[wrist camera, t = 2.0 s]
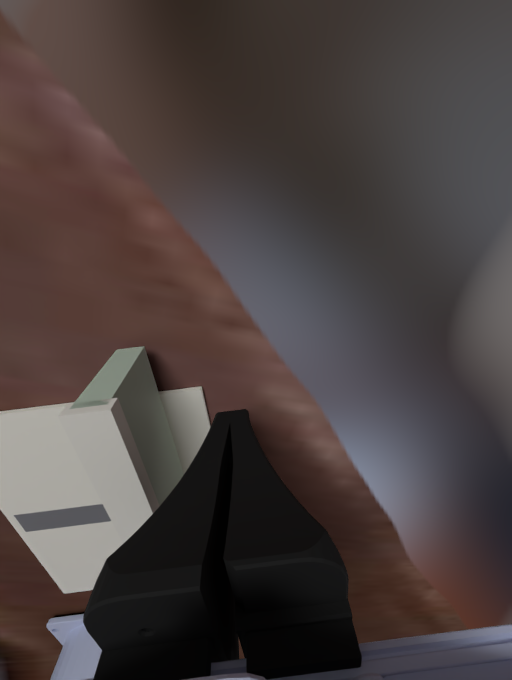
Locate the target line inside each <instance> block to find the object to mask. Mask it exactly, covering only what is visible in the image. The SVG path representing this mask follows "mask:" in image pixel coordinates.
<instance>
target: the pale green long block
mask: <svg viewBox="0 0 512 680" xmlns="http://www.w3.org/2000/svg"><path fill="white" fill-rule="evenodd" d="M58 418H59V420H60V422H61V424H62V426H63V428H64V430H65V432H66V434H67V436H68V438H69V440H70V442H71V444H72V445H73V447H74V449H75V451H76V453H77V455H78V457H79V459H80V461H81V463H82V465H83V467H84V469H85V471H86V473H87V475H88V477H89V479H90V480H91V482H92V484H93V486H94V488H95V490H96V492H97V494H98V496H99V498H100V500H101V502H102V504H103V506H104V508H105V510H106V512H107V513H108V515H109V517H110V519H111V521H112V523H113V525H114V527H115V529H116V531H117V533H118V535H119V537H120V539H121V541H122V543H125V542H126V541H127V540H128V539H129V538H130V537H131V536H132V535H133V534H134V533H135V532H136V531H137V530H138V529H139V528H140V527H141V526H142V525H143V524H144V523H145V522H146V521H147V519H148V518H149V517H150V516H151V515H152V514H153V513H154V512H155V511H156V510H157V509H158V507H159V506H160V505H161V504H162V503H163V502H164V500H165V499H166V498H167V497H168V495H169V494H170V493H171V491H172V490H173V489H174V488H175V486H176V485H177V484H178V482H179V481H180V479H181V478H182V477H183V475H184V473H183V470H182V466H181V463H180V460H179V457H178V454H177V450H176V447H175V444H174V441H173V437H172V434H171V431H170V428H169V424H168V421H167V418H166V415H165V412H164V408H163V405H162V402H161V399H160V395H159V392H158V389H157V386H156V382H155V379H154V376H153V373H152V369H151V366H150V363H149V360H148V357H147V353H146V350H145V347H144V346H142V347H134V348H126V349H118V350H116V351H115V352H114V354H113V355H112V356H111V357H110V359H109V360H108V361H107V362H106V364H105V365H104V366H103V367H102V369H101V370H100V371H99V373H98V374H97V375H96V376H95V378H94V379H93V380H92V381H91V383H90V384H89V385H88V386H87V388H86V389H85V390H84V391H83V393H82V394H81V395H80V396H79V398H78V399H77V400H76V401H75V403H71V404H67V406H66V407H65V408H64V409H63V410H62V412H61V413H60V414H59V415H58Z"/></svg>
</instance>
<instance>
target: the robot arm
mask: <svg viewBox="0 0 512 680" xmlns="http://www.w3.org/2000/svg"><path fill="white" fill-rule="evenodd" d="M347 597H348V574H347V570H346V568H345V565H344V563H343V560H342V558H341V556H340V554H339V552H338V550H337V548H336V546H335V545H334V543H333V541H332V539H331V538H330V536H329V534H328V532H327V531H326V530H325V529H324V528H323V527H322V526H321V525H320V524H319V523H318V522H317V521H316V520H315V519H314V518H313V517H312V516H311V515H310V514H309V513H308V512H307V510H306V509H305V508H304V507H303V506H302V505H301V504H300V503H299V502H298V500H297V499H296V498H295V497H294V496H293V494H292V493H291V492H290V491H289V489H288V488H287V487H286V486H285V485H284V483H283V482H282V480H281V479H280V478H279V476H278V475H277V473H276V472H275V470H274V469H273V467H272V466H271V464H270V463H269V461H268V459H267V458H266V456H265V454H264V452H263V450H262V448H261V447H260V445H259V442H258V440H257V438H256V436H255V434H254V431H253V429H252V426H251V423H250V419H249V413H248V411H247V410H246V409H243V410H235V411H227V412H219V413H217V414H216V415H215V418H214V421H213V423H212V425H211V427H210V430H209V432H208V434H207V436H206V438H205V440H204V442H203V444H202V445H201V447H200V449H199V451H198V453H197V454H196V456H195V458H194V459H193V461H192V463H191V464H190V466H189V468H188V469H187V471H186V472H185V474H184V475H183V477H182V478H181V479H180V481H179V482H178V484H177V485H176V486H175V488H174V489H173V490H172V491H171V493H170V494H169V495H168V497H167V498H166V499H165V500H164V502H163V503H162V504H161V505H160V506H159V507H158V509H157V510H156V511H155V512H154V513H153V514H152V515H151V516H150V517H149V518H148V519H147V521H146V522H145V523H144V524H143V525H142V526H141V527H140V528H139V529H138V530H137V531H136V532H135V533H134V534H133V535H132V536H131V537H130V538H129V539H128V540H127V541H126V542H125V543H123V544H122V545H121V546H120V547H119V548H118V549H117V550H116V551H115V552H114V553H113V554H111V555H110V556H109V557H108V558H107V559H106V561H105V563H104V566H103V568H102V570H101V572H100V574H99V576H98V578H97V581H96V583H95V585H94V588H93V591H92V594H91V596H90V599H89V602H88V604H87V607H86V610H85V613H84V614H78V615H70V616H62V617H55V618H51V619H49V621H48V623H47V628H48V630H49V631H50V632H51V633H52V634H53V635H54V636H55V637H56V638H57V640H58V641H59V642H60V643H61V644H62V645H63V648H62V651H61V653H60V656H59V658H58V661H57V664H56V666H55V669H54V671H53V674H52V676H51V679H50V680H512V624H509V625H501V626H494V627H485V628H477V629H470V630H462V631H454V632H446V633H438V634H431V635H423V636H415V637H407V638H400V639H392V640H384V641H376V642H369V643H361V644H358V641H357V637H356V633H355V630H354V626H353V622H352V612H351V609H350V605H349V602H348V598H347ZM238 636H239V640H240V643H241V646H242V650H243V653H244V657H245V658H244V659H239V642H238Z"/></svg>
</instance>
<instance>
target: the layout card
mask: <svg viewBox="0 0 512 680" xmlns="http://www.w3.org/2000/svg"><path fill="white" fill-rule="evenodd" d="M159 395H160V399H161V402H162V405H163V408H164V412H165V415H166V418H167V421H168V424H169V428H170V431H171V434H172V437H173V441H174V444H175V447H176V450H177V454H178V457H179V460H180V463H181V466H182V470H183V473H184V474H185V472H186V471H187V469H188V468H189V466H190V464H191V463H192V461H193V459H194V458H195V456H196V454H197V453H198V451H199V449H200V447H201V445H202V444H203V442H204V440H205V438H206V436H207V434H208V432H209V430H210V427H211V425H210V421H209V416H208V412H207V407H206V403H205V399H204V394H203V390H202V386H200V387H192V388H184V389H176V390H168V391H160V392H159ZM72 403H75V402H72ZM67 404H71V403H64V404H56V405H48V406H40V407H32V408H24V409H16V410H8V411H0V510H1V511H2V512H3V514H4V515H5V516H6V518H7V519H8V520H9V522H10V523H11V524H12V525H13V527H14V528H15V529H16V531H17V532H18V533H19V535H20V536H21V537H22V539H23V540H24V541H25V543H26V544H27V545H28V547H29V548H30V549H31V551H32V552H33V553H34V555H35V556H36V557H37V559H38V560H39V561H40V563H41V564H42V565H43V566H44V568H45V569H46V570H47V572H48V573H49V574H50V576H51V577H52V578H53V580H54V581H55V582H56V584H57V585H58V586H59V588H60V589H61V590H62V592H63V593H64V594H65V593H72V592H80V591H88V590H93V588H94V585H95V583H96V581H97V578H98V576H99V574H100V572H101V570H102V568H103V566H104V563H105V561H106V559H107V558H108V557H109V556H110V555H111V554H113V553H114V552H115V551H116V550H117V549H118V548H119V547H120V546H121V545H122V544H123V543H122V541H121V539H120V537H119V535H118V533H117V531H116V529H115V527H114V525H113V523H112V521H111V519H110V517H109V515H108V513H107V512H106V510H105V508H104V506H103V504H102V502H101V500H100V498H99V496H98V494H97V492H96V490H95V488H94V486H93V484H92V482H91V480H90V479H89V477H88V475H87V473H86V471H85V469H84V467H83V465H82V463H81V461H80V459H79V457H78V455H77V453H76V451H75V449H74V447H73V445H72V444H71V442H70V440H69V438H68V436H67V434H66V432H65V430H64V428H63V426H62V424H61V422H60V420H59V418H58V415H59V414H60V413H61V412H62V410H63V409H64V408H65V407H66V406H67Z"/></svg>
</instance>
